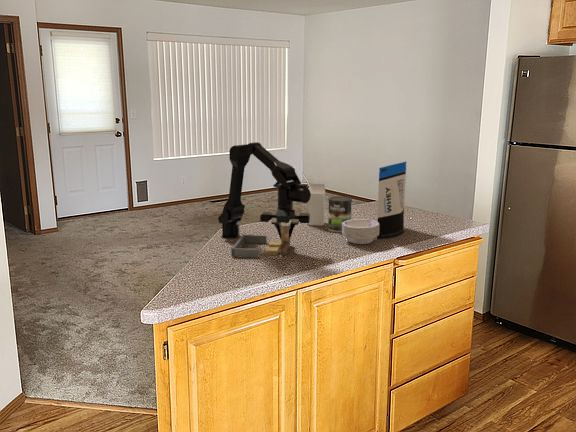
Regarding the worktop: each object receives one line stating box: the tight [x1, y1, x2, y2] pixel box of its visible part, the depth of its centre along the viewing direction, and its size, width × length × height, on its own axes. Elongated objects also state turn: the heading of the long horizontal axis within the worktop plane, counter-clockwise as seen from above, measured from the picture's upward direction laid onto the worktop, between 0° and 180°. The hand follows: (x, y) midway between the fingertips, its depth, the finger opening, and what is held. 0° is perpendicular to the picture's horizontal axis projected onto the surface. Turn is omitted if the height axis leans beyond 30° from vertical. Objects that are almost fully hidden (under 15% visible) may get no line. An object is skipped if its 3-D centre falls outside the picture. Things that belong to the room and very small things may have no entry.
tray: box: [230, 234, 268, 258], centre depth 208 cm, size 10×20×3 cm, turn 173°
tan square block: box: [268, 240, 282, 250], centre depth 210 cm, size 4×4×2 cm
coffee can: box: [327, 195, 353, 233], centre depth 235 cm, size 10×10×14 cm
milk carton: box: [307, 182, 326, 227], centre depth 244 cm, size 7×7×19 cm
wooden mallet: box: [279, 223, 291, 256], centre depth 205 cm, size 3×14×10 cm, turn 173°
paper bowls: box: [341, 218, 380, 245], centre depth 217 cm, size 15×15×8 cm
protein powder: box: [376, 161, 407, 240], centre depth 226 cm, size 10×24×30 cm, turn 142°
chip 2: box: [264, 246, 280, 256], centre depth 203 cm, size 4×4×2 cm
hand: (285, 239), depth 205 cm, fingers closed on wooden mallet, 3 cm apart
